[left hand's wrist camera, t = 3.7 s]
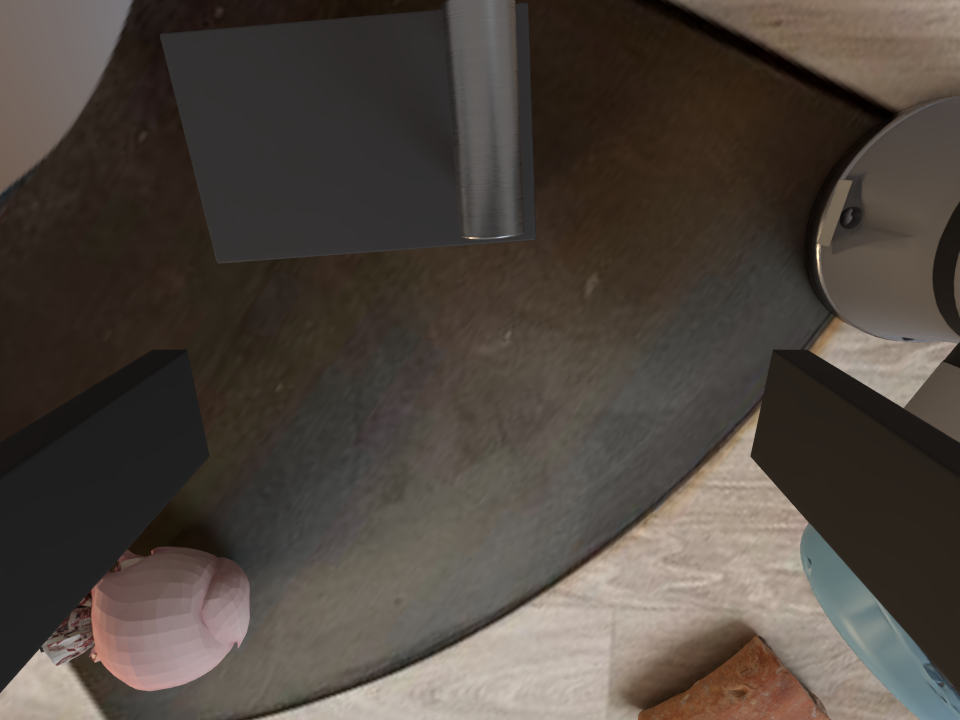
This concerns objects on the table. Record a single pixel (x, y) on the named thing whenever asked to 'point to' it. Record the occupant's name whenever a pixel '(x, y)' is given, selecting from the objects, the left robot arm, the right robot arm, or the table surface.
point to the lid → (360, 131)
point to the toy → (158, 618)
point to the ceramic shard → (743, 692)
